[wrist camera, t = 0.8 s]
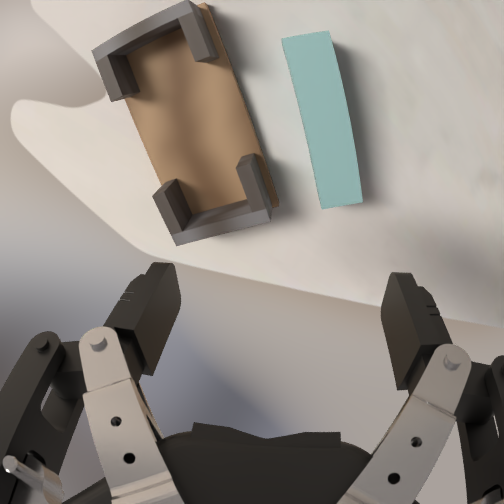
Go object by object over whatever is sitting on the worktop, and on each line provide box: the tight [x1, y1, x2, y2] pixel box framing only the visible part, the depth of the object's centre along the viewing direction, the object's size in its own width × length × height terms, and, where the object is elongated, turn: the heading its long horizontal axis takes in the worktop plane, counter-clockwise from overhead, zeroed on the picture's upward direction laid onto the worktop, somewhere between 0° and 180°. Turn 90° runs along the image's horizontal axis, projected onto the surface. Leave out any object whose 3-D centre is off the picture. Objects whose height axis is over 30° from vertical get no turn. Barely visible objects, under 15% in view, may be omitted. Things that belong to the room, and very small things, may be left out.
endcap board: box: [92, 0, 279, 246], centre depth 25 cm, size 10×20×4 cm, turn 19°
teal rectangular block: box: [282, 31, 363, 209], centre depth 24 cm, size 4×14×4 cm, turn 15°
